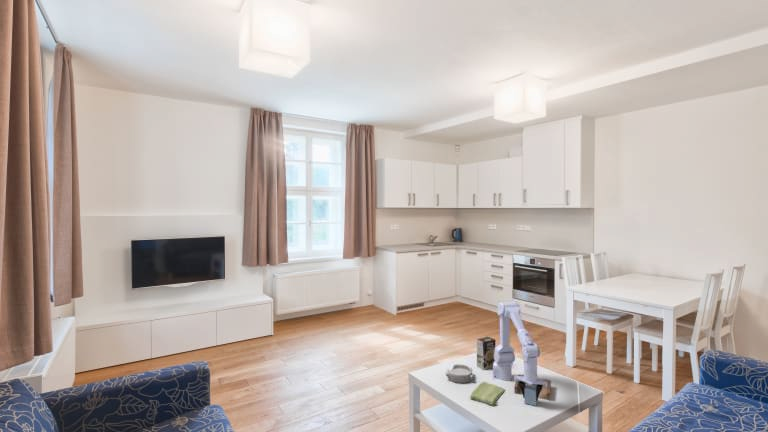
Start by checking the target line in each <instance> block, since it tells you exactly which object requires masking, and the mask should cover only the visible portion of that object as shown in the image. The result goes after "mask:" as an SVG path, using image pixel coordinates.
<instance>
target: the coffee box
mask: <svg viewBox="0 0 768 432" xmlns="http://www.w3.org/2000/svg"><path fill="white" fill-rule="evenodd" d="M495 348H496V339H494V337H493V338H492V337H490V336H484V337H481V338H477V339H476V366H477V367H478V368H480V369H481V370H483V371H484V370H485V371H486V370H488V369H493V363H494V361H495V359H494V352H495Z"/></svg>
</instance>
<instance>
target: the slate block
mask: <svg viewBox="0 0 768 432" xmlns="http://www.w3.org/2000/svg"><path fill="white" fill-rule="evenodd" d="M537 402H538V401H536V386H533V385H528V384H526V385H525V398H524V404H525V405H531V406H535V407H536V406H537Z"/></svg>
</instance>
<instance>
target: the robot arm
mask: <svg viewBox="0 0 768 432" xmlns="http://www.w3.org/2000/svg"><path fill="white" fill-rule="evenodd" d="M497 315H498V316H499V345H497V346H495V352H494V359H495V361H494V363H493V368H492V380H494V379H495V380H496V379H497V380H501V381H505V382H508V381H511V380H512V365H513V363H514V362H515V361H516V354H515V349H514V348H513V347H512V346H511V342H510V341H511V340H510V337H511V336H510V335H511V333H510V331H511V330H510V327H511V324H510V323H511V322H512V323H513V325H514V327H515V329H516V331H517V333H516V336H517V338H518V341H519V343H520V346H521V350H520V351H521V353H522V360H523V375H524V376H518V375H514V377H513V381H514V382H516V381H519V386H520V388H521V391H522V394H523V395H522V397H523V399H525V383H528V384H530V385H532V384H535V385H537V386H536V401H537V402H539V398H538V397H539V394H540V392H541V390H542V386H545V387H547V386H548V382H547V381H543V380H540V379H537V378H538V357H540V354H541V351H540V348H539V346H538V344H536V342H535V341H534V340H533V339H532V336H531V334H530V332H529V330H528V329H526V328H525V325H524V322H523V320H522V318H521V306H520V304H519V302H518V301H506V302H502V301H501V302H499V303H498V304H497ZM510 320H511V321H510Z"/></svg>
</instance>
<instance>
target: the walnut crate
mask: <svg viewBox="0 0 768 432" xmlns="http://www.w3.org/2000/svg"><path fill="white" fill-rule="evenodd" d="M517 376H524V374H517ZM537 379H540V380H543V381H547V382H548V386H547V387H545V386H542V390H541V392H540V394H539V397H538V399H540V400H545V401H551V391H552V380H550V379H546V378H539V377H537ZM526 384H528V383H525V385H526ZM528 385H530V384H528ZM532 385H533V386H537V385H535V384H532ZM514 394H515V395H521V396H523V394H522V391H521V388H520V386H519V381H515V384H514Z"/></svg>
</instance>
